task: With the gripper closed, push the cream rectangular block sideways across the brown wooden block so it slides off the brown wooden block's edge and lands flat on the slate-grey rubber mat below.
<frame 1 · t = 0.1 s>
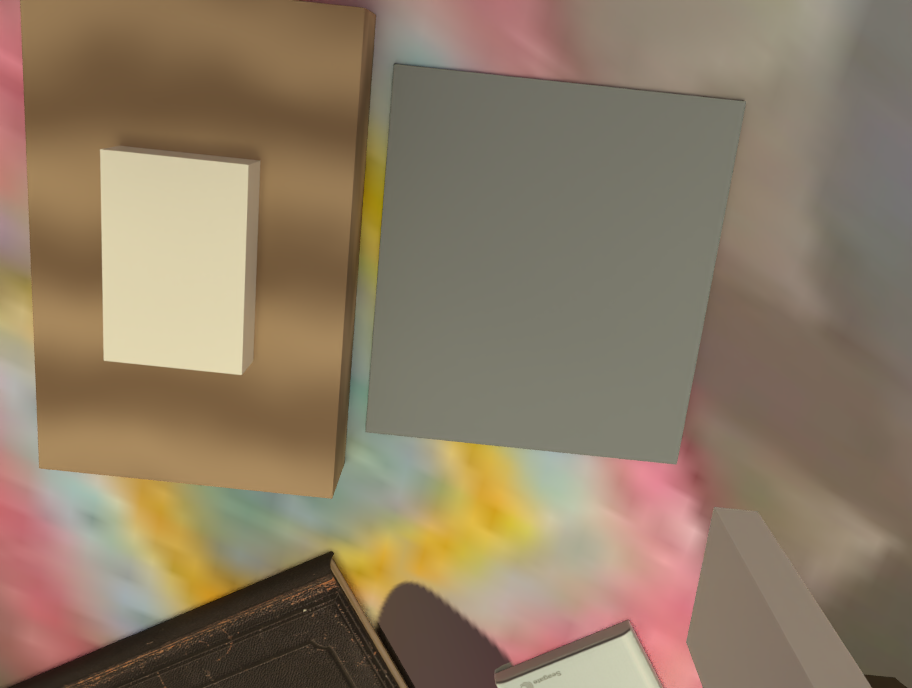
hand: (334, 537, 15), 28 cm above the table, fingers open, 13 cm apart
mat: (543, 275, 42), on the table
brown wooden block: (215, 240, 42), on the table
cream rectangular block: (188, 256, 38), point 4 cm above the table, touching brown wooden block
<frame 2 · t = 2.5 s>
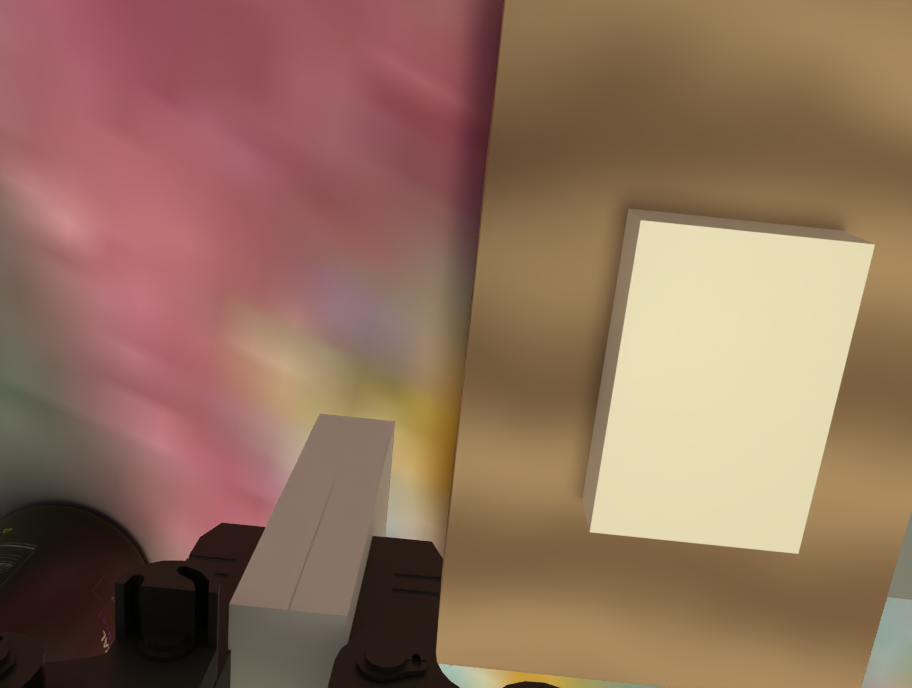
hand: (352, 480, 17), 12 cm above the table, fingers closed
brown wooden block: (677, 332, 29), on the table
supplement bottle: (70, 574, 33), on the table
cream rectangular block: (706, 372, 25), point 4 cm above the table, touching brown wooden block
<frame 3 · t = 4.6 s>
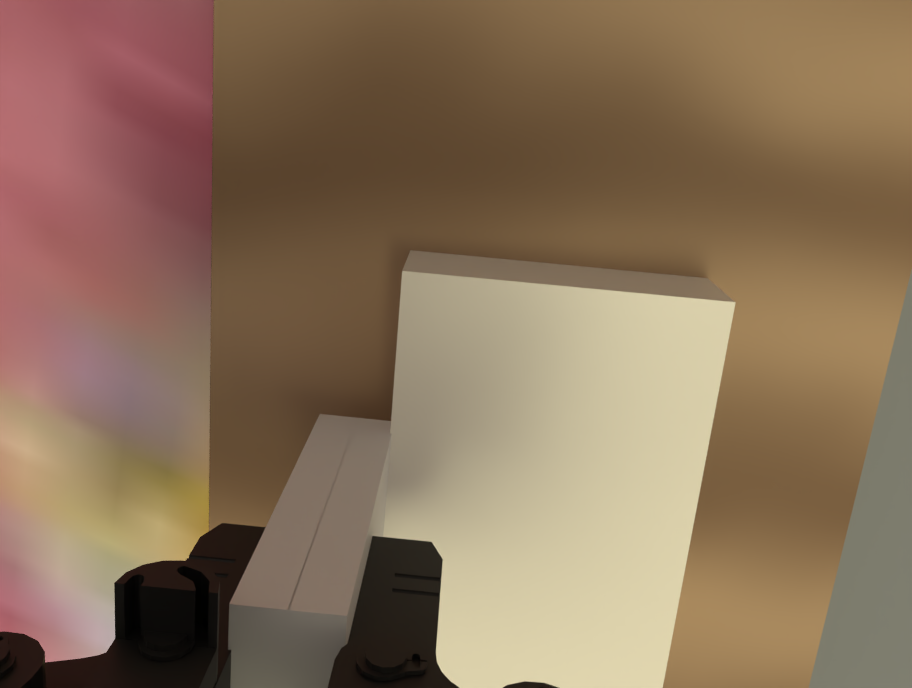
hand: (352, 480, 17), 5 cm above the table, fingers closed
brown wooden block: (523, 402, 23), on the table
cream rectangular block: (533, 468, 19), point 4 cm above the table, touching brown wooden block, gripper
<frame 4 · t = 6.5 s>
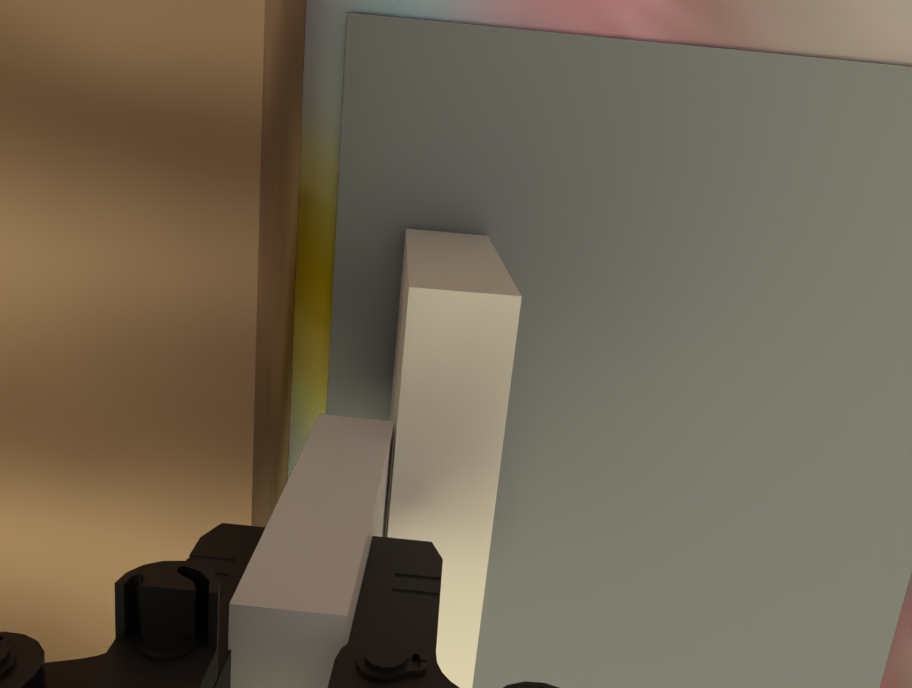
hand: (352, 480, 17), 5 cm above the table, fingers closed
mat: (635, 410, 23), on the table
brown wooden block: (23, 351, 23), on the table
cream rectangular block: (390, 451, 19), point 3 cm above the table, tilted 95°, touching gripper, mat
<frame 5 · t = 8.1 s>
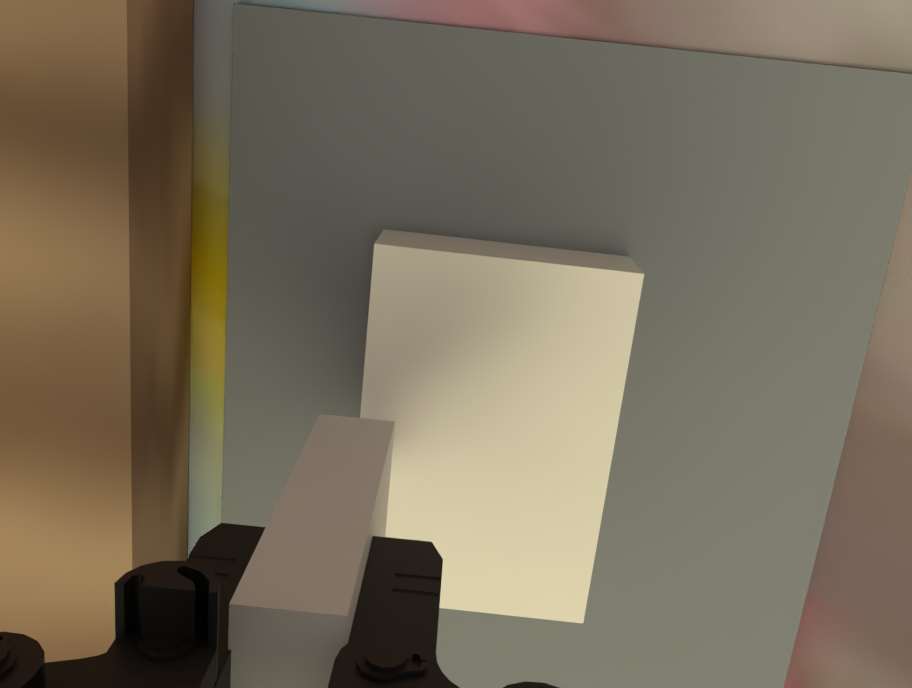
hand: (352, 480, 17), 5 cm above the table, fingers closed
mat: (534, 404, 23), on the table
cream rectangular block: (485, 445, 21), point 2 cm above the table, tilted 180°, touching mat
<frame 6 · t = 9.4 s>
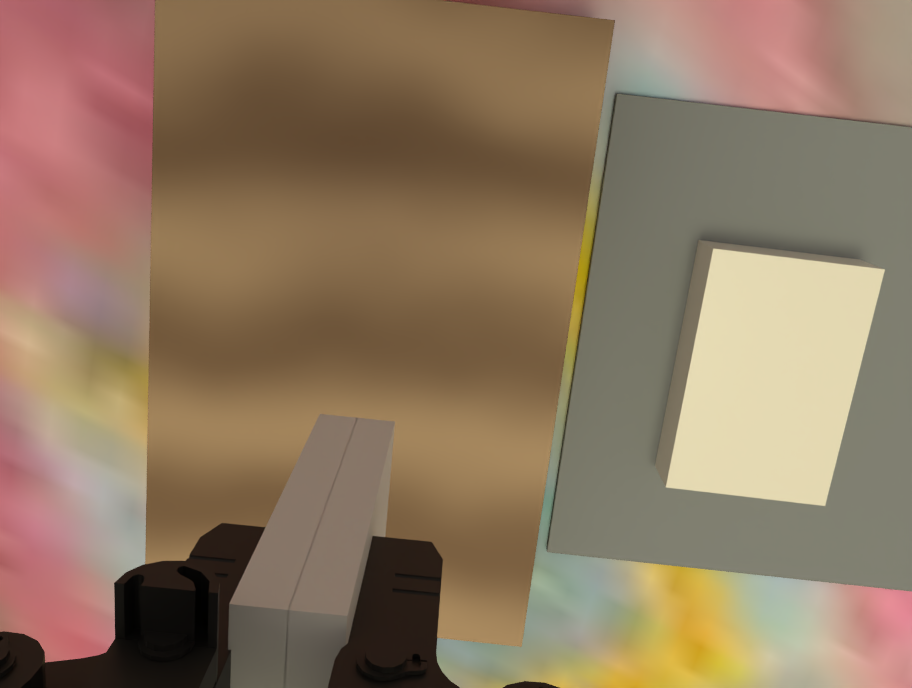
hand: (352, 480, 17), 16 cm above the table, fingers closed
mat: (785, 360, 33), on the table
brown wooden block: (370, 314, 33), on the table
cream rectangular block: (771, 382, 31), point 2 cm above the table, tilted 180°, touching mat
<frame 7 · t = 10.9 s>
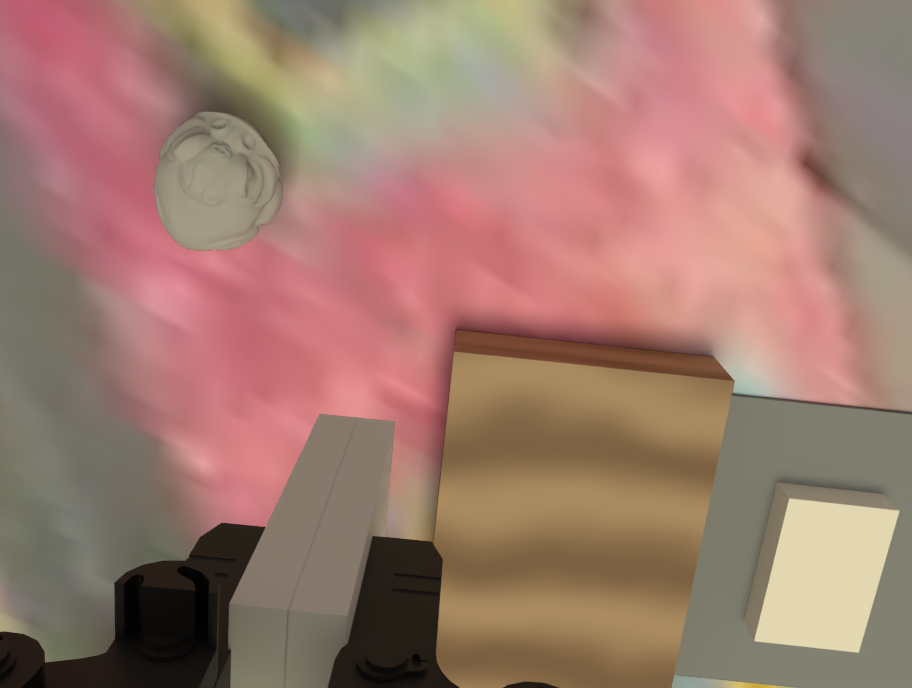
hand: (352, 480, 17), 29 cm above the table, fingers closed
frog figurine: (239, 174, 45), on the table
mat: (832, 553, 50), on the table
brown wooden block: (557, 525, 50), on the table
cream rectangular block: (824, 577, 48), point 2 cm above the table, tilted 180°, touching mat
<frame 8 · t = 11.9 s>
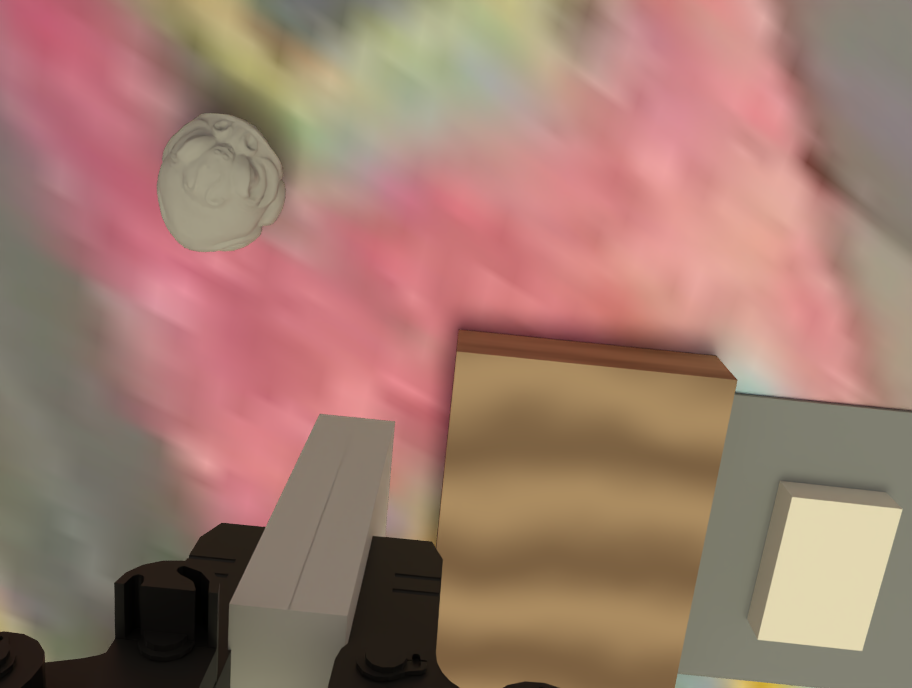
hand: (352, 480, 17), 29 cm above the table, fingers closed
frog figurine: (242, 175, 45), on the table
mat: (835, 552, 50), on the table
brown wooden block: (560, 524, 50), on the table
cream rectangular block: (828, 576, 48), point 2 cm above the table, tilted 180°, touching mat
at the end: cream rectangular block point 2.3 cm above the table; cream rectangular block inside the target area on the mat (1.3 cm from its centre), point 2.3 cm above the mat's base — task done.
